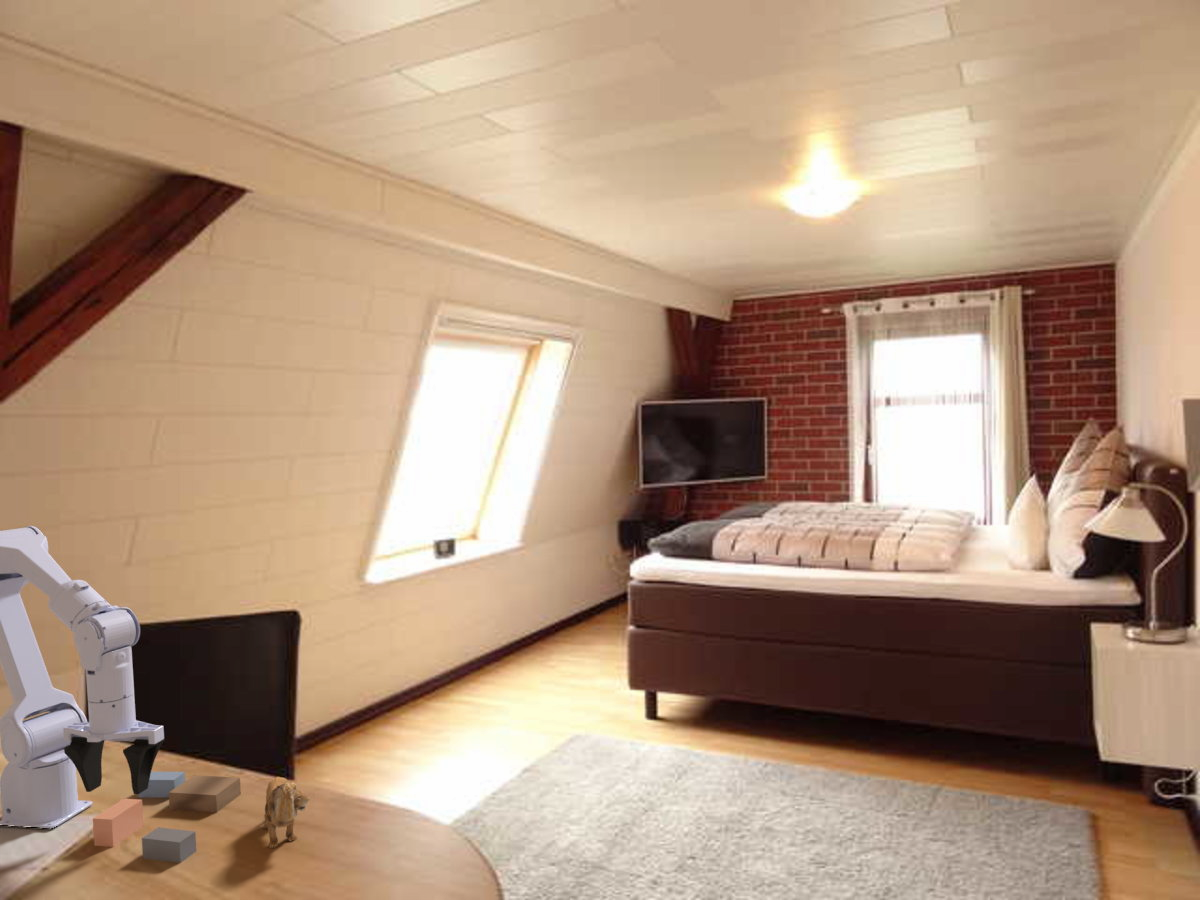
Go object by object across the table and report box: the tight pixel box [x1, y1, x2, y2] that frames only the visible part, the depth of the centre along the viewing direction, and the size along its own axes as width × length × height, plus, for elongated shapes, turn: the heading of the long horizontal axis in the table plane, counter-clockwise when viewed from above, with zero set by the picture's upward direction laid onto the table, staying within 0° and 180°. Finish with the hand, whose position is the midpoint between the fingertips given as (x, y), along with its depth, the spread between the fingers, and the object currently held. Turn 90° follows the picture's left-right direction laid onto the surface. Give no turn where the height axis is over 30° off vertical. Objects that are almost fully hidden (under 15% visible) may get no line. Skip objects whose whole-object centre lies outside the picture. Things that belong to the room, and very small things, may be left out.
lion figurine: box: [262, 776, 310, 849], centre depth 120 cm, size 15×5×9 cm, turn 34°
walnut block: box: [168, 774, 242, 813], centre depth 131 cm, size 8×6×3 cm
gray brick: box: [141, 827, 197, 864], centre depth 115 cm, size 6×3×3 cm, turn 76°
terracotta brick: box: [92, 798, 145, 848], centre depth 121 cm, size 3×6×4 cm, turn 170°
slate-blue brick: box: [137, 771, 186, 799], centre depth 134 cm, size 6×3×3 cm, turn 85°
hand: (117, 789), depth 120 cm, fingers open, 7 cm apart
